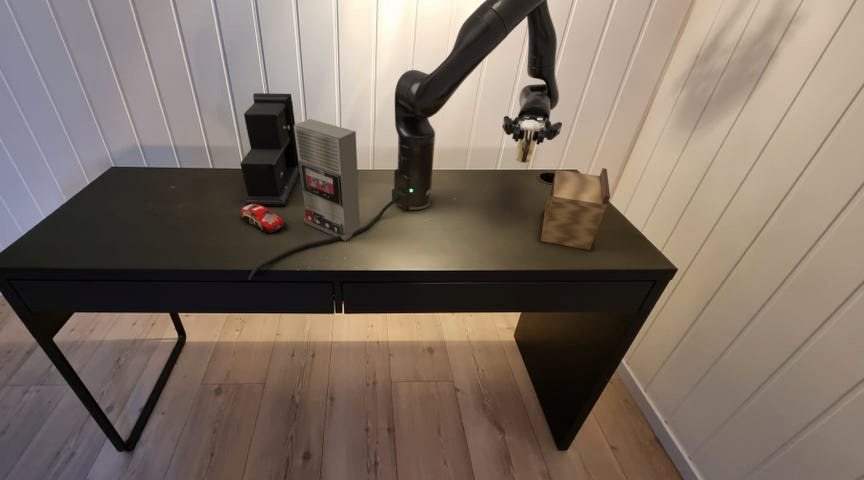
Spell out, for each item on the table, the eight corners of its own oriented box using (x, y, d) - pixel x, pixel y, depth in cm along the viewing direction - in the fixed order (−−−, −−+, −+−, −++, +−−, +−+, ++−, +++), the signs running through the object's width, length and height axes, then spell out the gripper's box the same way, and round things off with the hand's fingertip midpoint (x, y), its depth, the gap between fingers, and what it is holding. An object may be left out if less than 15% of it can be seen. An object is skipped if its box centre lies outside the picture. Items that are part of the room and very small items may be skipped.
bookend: (285, 207, 111) (270, 119, 97) (245, 206, 112) (225, 119, 97) (302, 170, 130) (291, 93, 115) (268, 170, 130) (254, 92, 115)
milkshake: (537, 165, 94) (548, 121, 87) (513, 162, 95) (523, 119, 88) (535, 157, 97) (546, 114, 91) (512, 155, 98) (521, 112, 92)
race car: (288, 228, 103) (285, 214, 100) (270, 237, 100) (267, 223, 97) (257, 210, 110) (254, 197, 107) (239, 218, 106) (236, 205, 104)
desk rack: (540, 241, 98) (555, 188, 90) (544, 211, 109) (558, 162, 101) (589, 250, 95) (610, 196, 86) (588, 219, 106) (606, 168, 97)
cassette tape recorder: (304, 223, 104) (290, 125, 89) (320, 214, 108) (310, 118, 93) (344, 242, 98) (336, 139, 82) (360, 231, 102) (356, 131, 86)
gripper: (508, 97, 102) (498, 118, 90) (568, 103, 98) (566, 125, 86) (502, 126, 107) (492, 150, 94) (559, 133, 103) (557, 159, 91)
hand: (527, 138), depth 90 cm, fingers closed on milkshake, 4 cm apart
